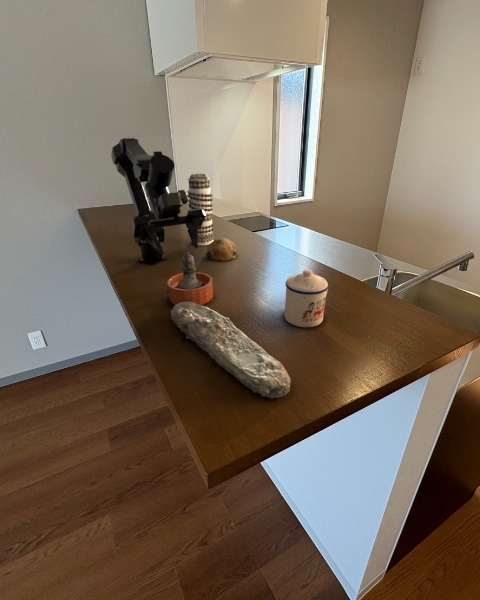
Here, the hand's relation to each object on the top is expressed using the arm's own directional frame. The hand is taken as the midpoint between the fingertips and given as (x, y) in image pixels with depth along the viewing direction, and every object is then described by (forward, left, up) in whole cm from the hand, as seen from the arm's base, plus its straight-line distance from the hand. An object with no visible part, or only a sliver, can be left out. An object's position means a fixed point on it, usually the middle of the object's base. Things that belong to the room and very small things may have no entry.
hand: (180, 250), depth 81 cm
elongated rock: (+24, -16, -12) cm, 31 cm away
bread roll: (-8, +28, -12) cm, 31 cm away
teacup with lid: (+33, +5, -12) cm, 36 cm away
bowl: (+4, -2, -11) cm, 12 cm away
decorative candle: (-24, +38, -12) cm, 46 cm away
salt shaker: (+4, -2, -11) cm, 12 cm away
